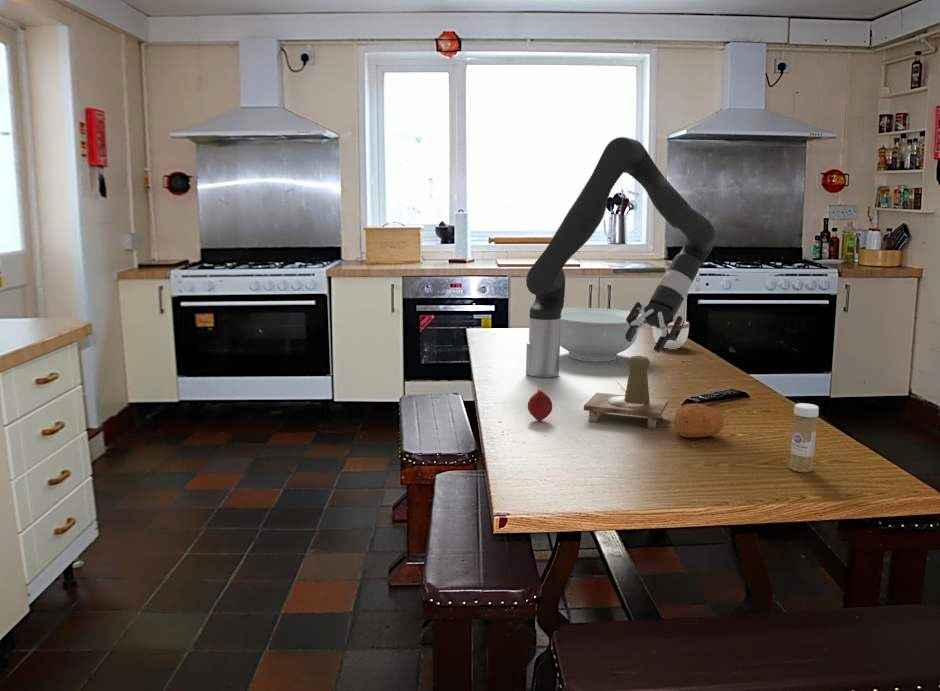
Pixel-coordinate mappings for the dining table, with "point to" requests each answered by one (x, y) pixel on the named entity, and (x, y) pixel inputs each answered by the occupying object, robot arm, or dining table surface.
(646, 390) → the olive pepper mill
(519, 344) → the dining table surface
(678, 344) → the lidded bowl
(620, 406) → the wooden stand
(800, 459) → the sprinkles bottle
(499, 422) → the dining table surface
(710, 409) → the potato
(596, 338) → the bowl
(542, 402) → the onion
